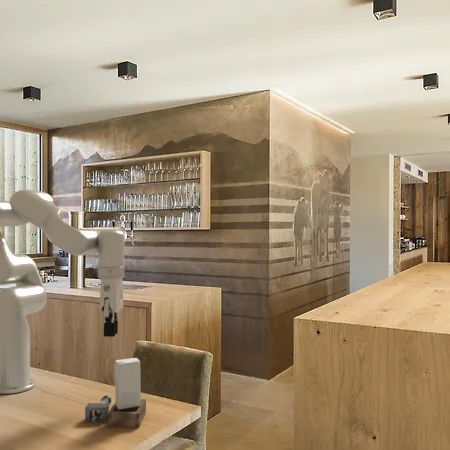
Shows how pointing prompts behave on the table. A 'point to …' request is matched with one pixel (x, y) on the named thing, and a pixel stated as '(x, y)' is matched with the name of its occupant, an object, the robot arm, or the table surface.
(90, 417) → the pin mount
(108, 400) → the lock pin
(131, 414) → the brown wooden open box
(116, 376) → the skincare box
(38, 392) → the table surface
